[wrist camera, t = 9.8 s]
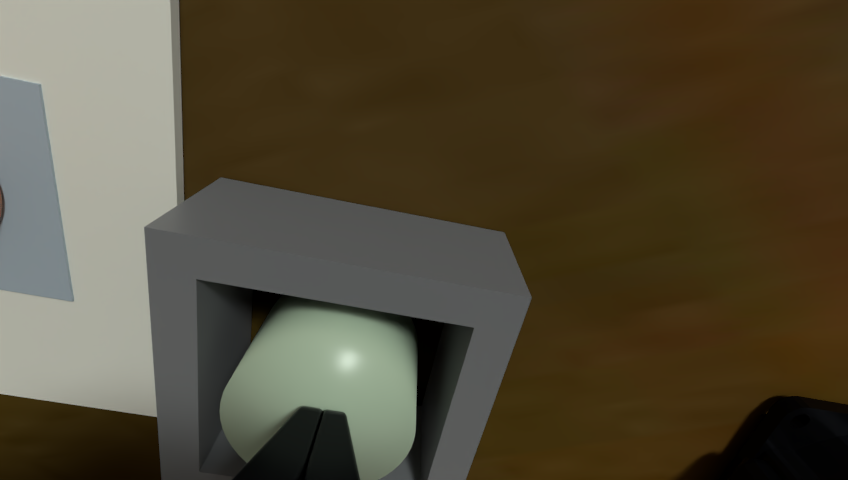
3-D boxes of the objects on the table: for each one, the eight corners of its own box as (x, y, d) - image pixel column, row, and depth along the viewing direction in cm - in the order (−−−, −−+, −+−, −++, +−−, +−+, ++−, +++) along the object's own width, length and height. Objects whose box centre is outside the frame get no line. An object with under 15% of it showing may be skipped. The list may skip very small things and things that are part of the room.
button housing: (504, 232, 10) (531, 298, 7) (442, 430, 12) (447, 530, 10) (220, 177, 9) (143, 227, 7) (218, 396, 12) (162, 491, 9)
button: (432, 292, 10) (433, 366, 7) (402, 410, 11) (397, 501, 9) (269, 263, 9) (220, 330, 7) (261, 388, 11) (218, 476, 9)
